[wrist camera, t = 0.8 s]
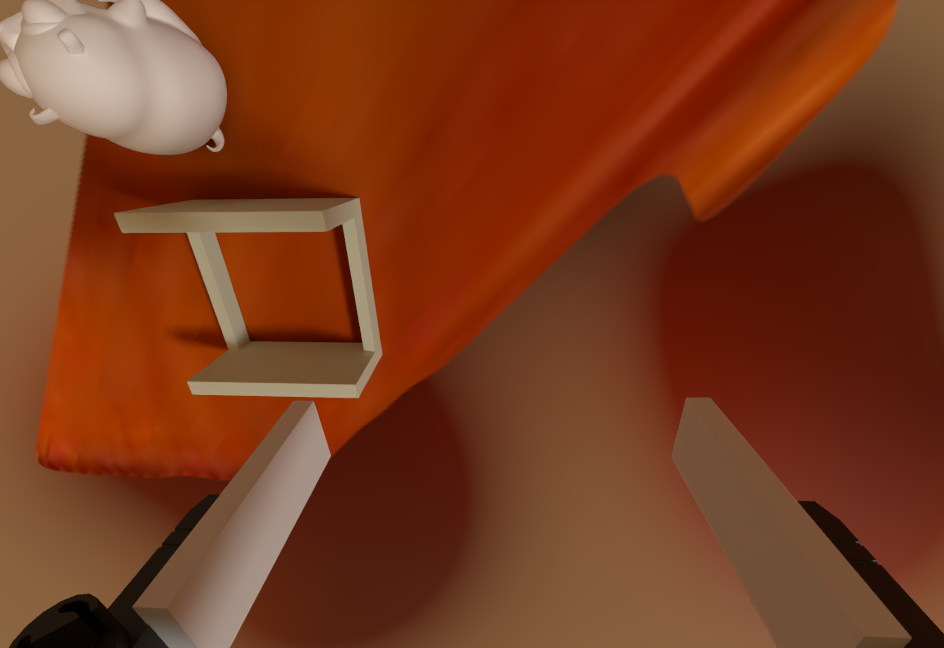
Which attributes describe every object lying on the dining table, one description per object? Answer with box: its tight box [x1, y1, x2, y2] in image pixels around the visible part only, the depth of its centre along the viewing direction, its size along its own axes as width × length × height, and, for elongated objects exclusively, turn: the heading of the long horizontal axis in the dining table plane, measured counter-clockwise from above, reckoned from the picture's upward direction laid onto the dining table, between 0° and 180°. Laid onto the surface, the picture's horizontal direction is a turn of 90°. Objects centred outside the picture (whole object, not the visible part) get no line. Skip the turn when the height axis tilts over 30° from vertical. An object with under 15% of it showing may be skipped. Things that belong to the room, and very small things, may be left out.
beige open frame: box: [114, 198, 382, 398], centre depth 34 cm, size 17×16×8 cm
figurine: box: [0, 0, 227, 155], centre depth 26 cm, size 10×10×12 cm
